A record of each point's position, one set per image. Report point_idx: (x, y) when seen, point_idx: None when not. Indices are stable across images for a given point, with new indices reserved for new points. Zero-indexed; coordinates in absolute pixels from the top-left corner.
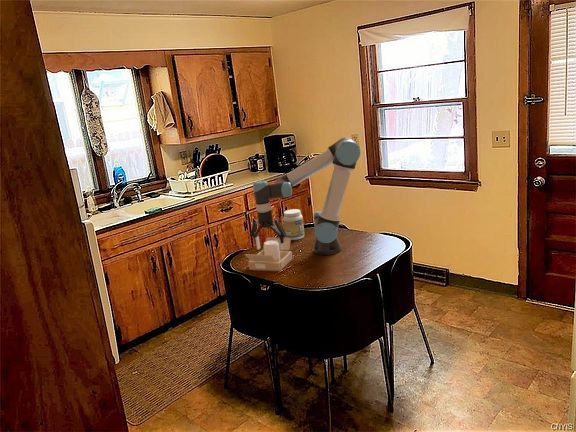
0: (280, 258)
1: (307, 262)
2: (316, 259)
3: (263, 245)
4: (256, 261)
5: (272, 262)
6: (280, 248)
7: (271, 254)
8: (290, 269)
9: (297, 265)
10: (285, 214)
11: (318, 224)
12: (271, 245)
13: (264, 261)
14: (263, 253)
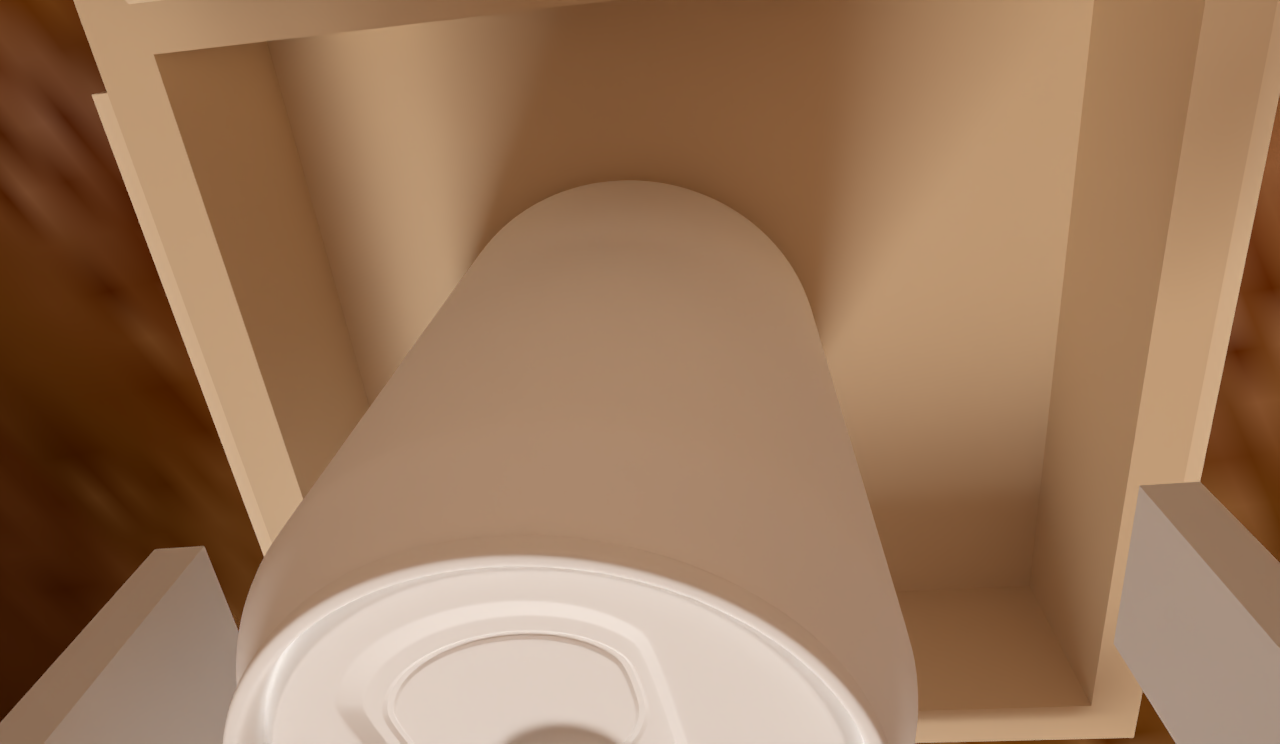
0: None
1: (42, 546)
2: (3, 672)
3: (892, 610)
4: (1090, 272)
5: (334, 19)
6: (146, 584)
7: (467, 311)
8: (82, 170)
9: (107, 393)
10: None
11: None
12: (329, 565)
13: (917, 407)
14: (1064, 656)
